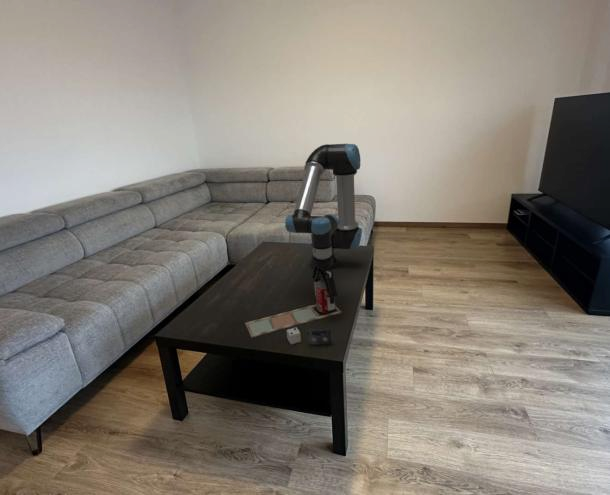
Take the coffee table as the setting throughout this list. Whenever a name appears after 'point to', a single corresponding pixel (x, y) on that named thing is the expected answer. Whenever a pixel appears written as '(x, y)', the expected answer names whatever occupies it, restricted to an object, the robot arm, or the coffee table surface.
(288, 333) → the die
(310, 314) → the frame
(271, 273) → the coffee table surface
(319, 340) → the mini dv tape
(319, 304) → the soda can
